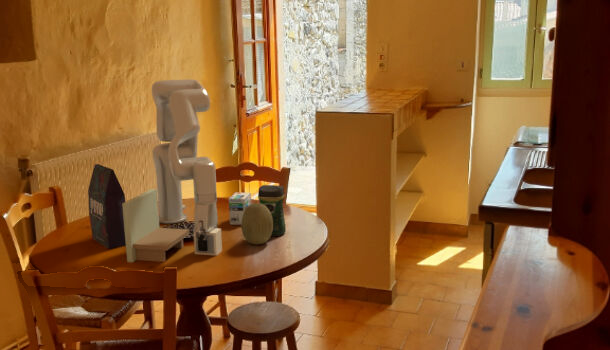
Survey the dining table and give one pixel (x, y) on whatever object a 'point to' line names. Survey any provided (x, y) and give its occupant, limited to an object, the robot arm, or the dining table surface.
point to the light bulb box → (238, 206)
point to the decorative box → (106, 207)
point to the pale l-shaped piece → (148, 230)
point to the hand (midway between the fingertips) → (208, 246)
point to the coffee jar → (274, 206)
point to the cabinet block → (210, 242)
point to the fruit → (257, 223)
